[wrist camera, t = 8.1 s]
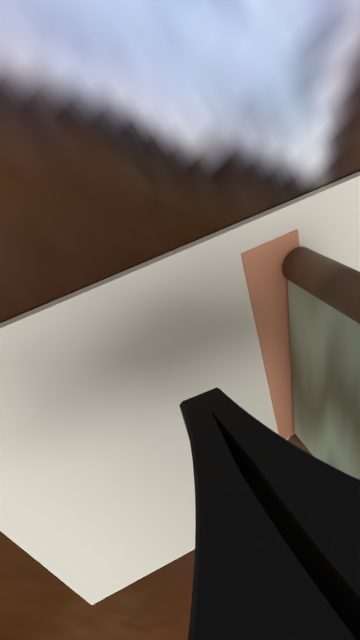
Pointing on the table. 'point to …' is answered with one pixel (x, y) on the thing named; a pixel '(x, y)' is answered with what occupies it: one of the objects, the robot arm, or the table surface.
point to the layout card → (149, 389)
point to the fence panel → (325, 356)
